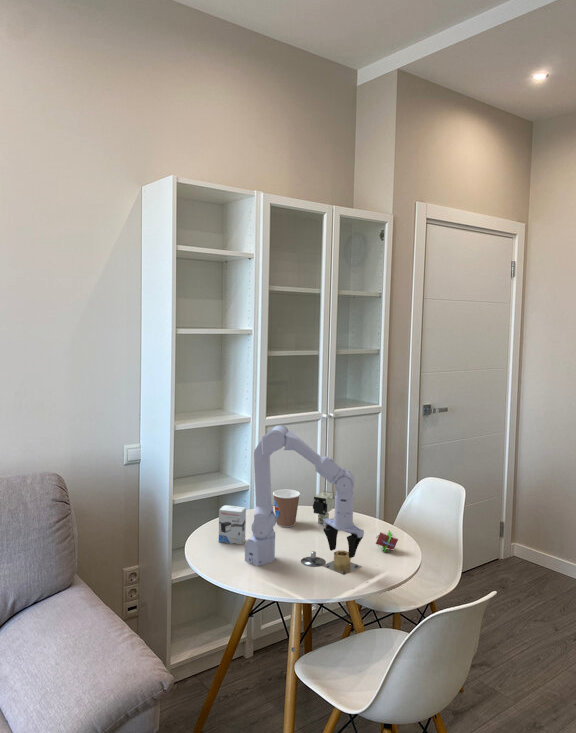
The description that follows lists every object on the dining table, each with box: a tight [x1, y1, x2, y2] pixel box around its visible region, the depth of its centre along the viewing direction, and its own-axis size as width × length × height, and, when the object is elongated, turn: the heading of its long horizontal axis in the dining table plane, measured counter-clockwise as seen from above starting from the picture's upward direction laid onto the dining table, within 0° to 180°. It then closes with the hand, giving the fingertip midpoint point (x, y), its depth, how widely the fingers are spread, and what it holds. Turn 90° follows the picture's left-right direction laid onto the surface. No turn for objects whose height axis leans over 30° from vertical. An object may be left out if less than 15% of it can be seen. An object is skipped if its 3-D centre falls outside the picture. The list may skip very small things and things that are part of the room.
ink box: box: [218, 505, 247, 545], centre depth 210 cm, size 8×5×12 cm, turn 76°
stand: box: [300, 551, 327, 568], centre depth 192 cm, size 8×8×4 cm
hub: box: [322, 560, 362, 576], centre depth 189 cm, size 9×9×4 cm
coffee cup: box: [272, 488, 301, 528], centre depth 228 cm, size 10×10×12 cm
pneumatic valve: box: [312, 490, 335, 525], centre depth 230 cm, size 6×12×12 cm, turn 154°
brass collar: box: [333, 550, 352, 569], centre depth 189 cm, size 5×5×4 cm
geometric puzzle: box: [374, 530, 399, 553], centre depth 205 cm, size 7×7×8 cm
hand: (342, 553), depth 189 cm, fingers open, 7 cm apart
